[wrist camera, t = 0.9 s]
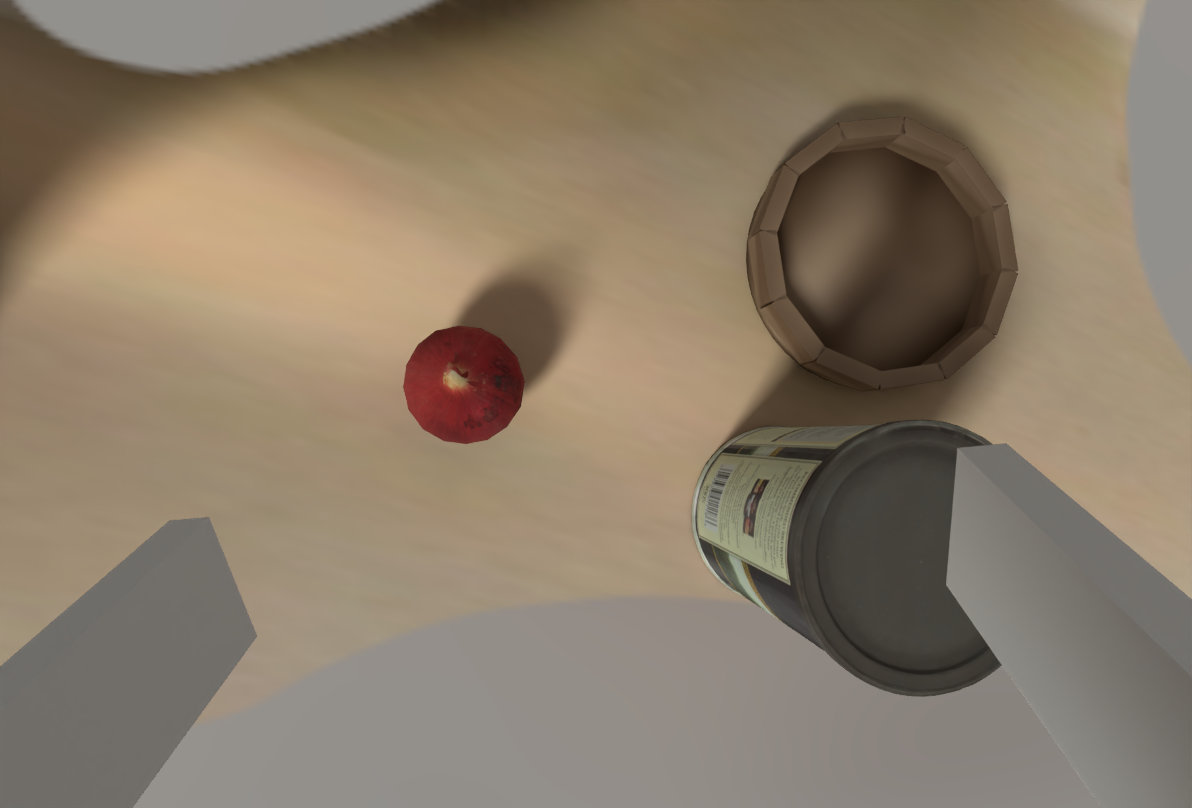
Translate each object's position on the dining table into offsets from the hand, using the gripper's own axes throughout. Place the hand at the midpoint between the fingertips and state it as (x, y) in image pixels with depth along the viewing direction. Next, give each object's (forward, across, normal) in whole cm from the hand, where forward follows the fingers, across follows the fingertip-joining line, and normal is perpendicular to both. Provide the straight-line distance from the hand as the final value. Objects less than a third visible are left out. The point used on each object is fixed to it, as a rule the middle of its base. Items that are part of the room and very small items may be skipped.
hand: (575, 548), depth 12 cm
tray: (+31, +15, -3) cm, 35 cm away
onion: (+24, -8, -6) cm, 26 cm away
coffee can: (+24, +8, -15) cm, 30 cm away
